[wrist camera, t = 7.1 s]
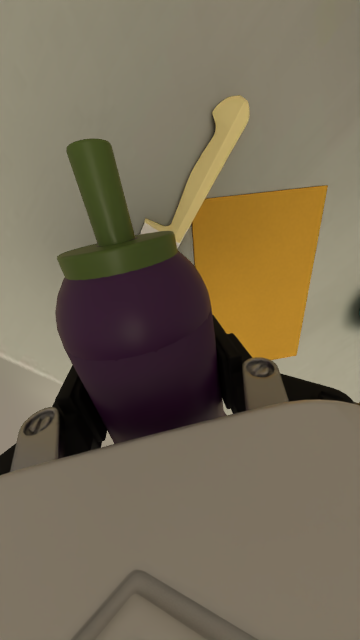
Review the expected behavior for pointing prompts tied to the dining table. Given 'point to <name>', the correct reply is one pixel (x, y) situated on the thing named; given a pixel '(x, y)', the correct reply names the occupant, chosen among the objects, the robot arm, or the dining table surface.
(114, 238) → the eggplant
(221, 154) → the knife
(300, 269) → the dish cloth
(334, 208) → the dining table surface
